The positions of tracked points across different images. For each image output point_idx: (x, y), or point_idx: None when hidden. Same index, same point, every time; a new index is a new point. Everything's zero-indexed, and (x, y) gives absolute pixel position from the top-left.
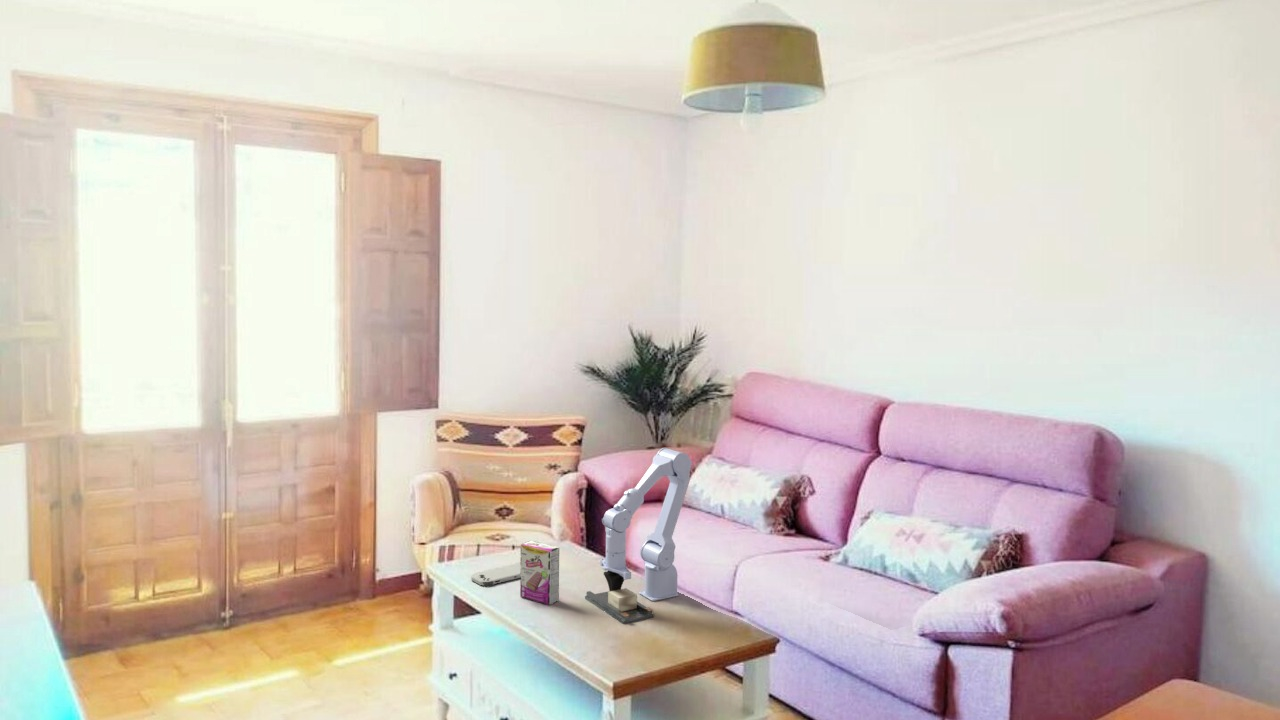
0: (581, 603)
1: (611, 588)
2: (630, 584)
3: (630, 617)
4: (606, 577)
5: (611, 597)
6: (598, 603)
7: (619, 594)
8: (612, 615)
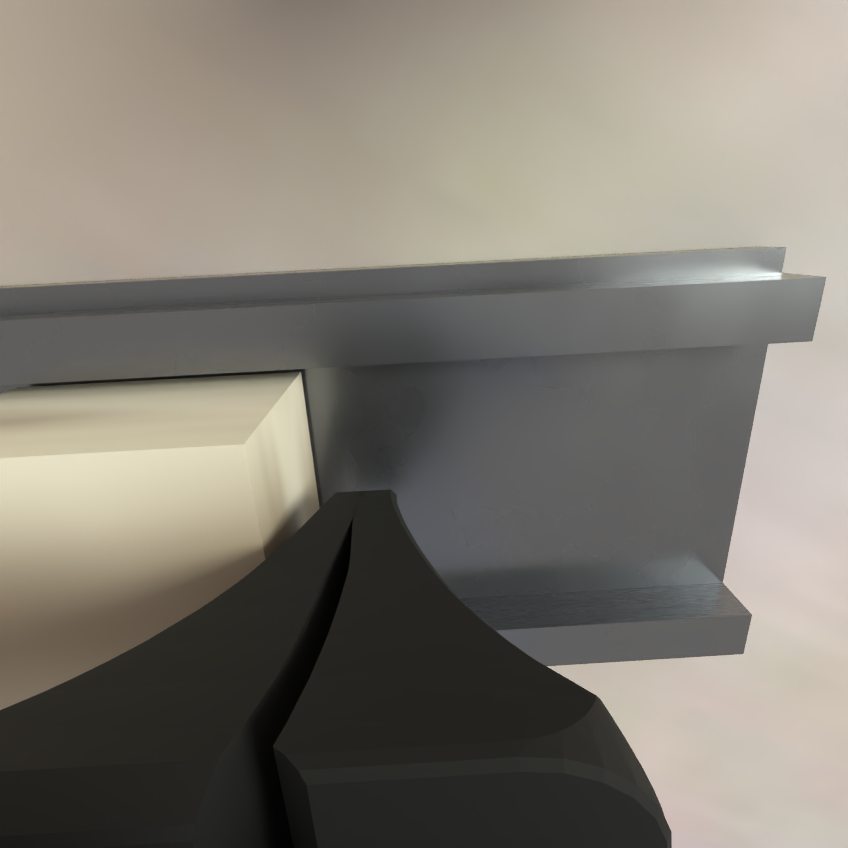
0: (643, 111)
1: (303, 552)
2: (774, 794)
3: None
4: (435, 668)
5: (146, 425)
6: (433, 290)
7: (28, 562)
8: (5, 287)
